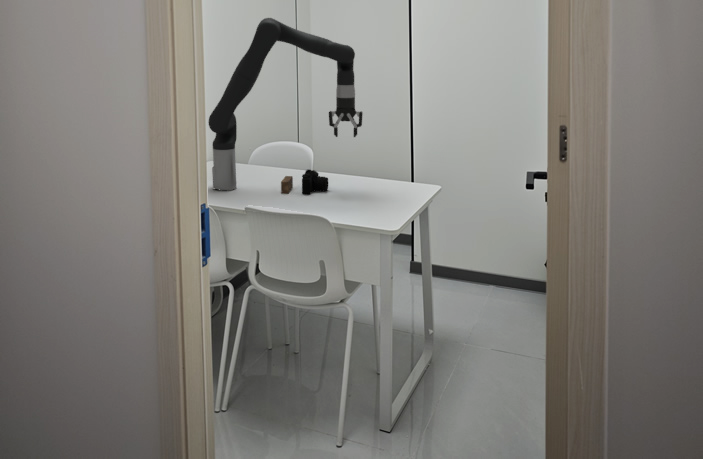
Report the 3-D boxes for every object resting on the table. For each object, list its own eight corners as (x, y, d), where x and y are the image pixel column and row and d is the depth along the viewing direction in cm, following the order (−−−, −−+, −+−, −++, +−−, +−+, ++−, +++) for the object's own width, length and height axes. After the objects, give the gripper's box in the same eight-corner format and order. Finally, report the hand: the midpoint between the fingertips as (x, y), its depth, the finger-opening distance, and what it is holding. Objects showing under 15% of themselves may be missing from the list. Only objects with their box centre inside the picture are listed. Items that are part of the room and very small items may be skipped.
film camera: (322, 196, 301) (322, 174, 298) (299, 195, 303) (299, 173, 300) (330, 188, 315) (330, 167, 313) (308, 186, 317) (308, 166, 315)
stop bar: (281, 193, 304) (281, 181, 303) (285, 187, 315) (285, 176, 313) (288, 193, 304) (288, 181, 303) (292, 187, 315) (292, 176, 313)
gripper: (326, 96, 294) (327, 138, 299) (362, 97, 293) (362, 138, 298) (328, 94, 301) (329, 135, 306) (363, 95, 300) (363, 135, 305)
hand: (345, 136), depth 302 cm, fingers open, 7 cm apart
